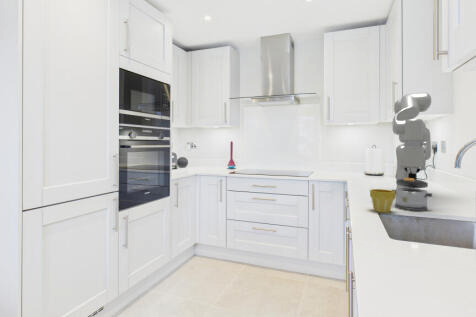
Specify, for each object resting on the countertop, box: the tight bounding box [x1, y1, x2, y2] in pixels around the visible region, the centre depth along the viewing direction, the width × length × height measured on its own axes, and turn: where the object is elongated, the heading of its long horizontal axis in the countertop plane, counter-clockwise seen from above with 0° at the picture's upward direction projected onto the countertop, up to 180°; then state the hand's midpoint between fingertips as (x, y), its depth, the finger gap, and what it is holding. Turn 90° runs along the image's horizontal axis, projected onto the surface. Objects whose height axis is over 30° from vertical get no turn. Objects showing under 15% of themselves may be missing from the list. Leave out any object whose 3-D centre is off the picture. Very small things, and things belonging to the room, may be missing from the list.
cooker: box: [390, 187, 433, 212], centre depth 132 cm, size 14×17×9 cm
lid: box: [396, 178, 429, 189], centre depth 131 cm, size 16×13×1 cm
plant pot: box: [369, 188, 396, 214], centre depth 126 cm, size 10×10×10 cm
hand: (412, 181), depth 132 cm, fingers closed
